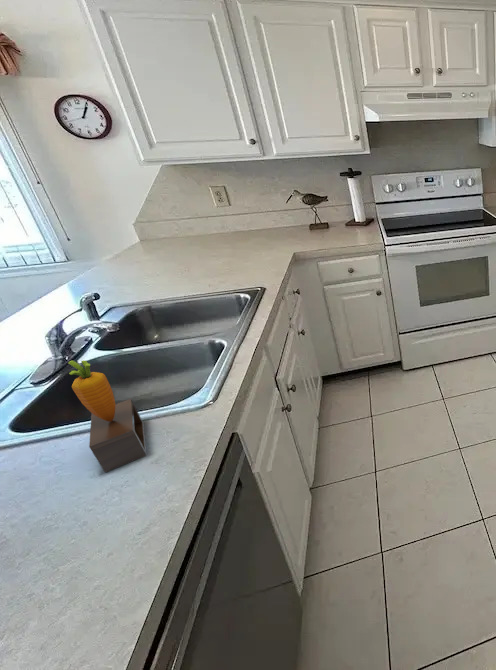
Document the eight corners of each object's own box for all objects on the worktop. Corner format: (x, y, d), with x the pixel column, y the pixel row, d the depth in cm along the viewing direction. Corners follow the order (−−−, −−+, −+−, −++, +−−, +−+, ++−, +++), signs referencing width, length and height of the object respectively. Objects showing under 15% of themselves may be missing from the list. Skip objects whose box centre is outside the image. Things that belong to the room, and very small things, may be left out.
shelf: (146, 455, 86) (133, 430, 83) (105, 472, 82) (89, 446, 79) (143, 422, 94) (131, 398, 91) (105, 436, 91) (91, 412, 88)
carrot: (130, 418, 86) (98, 358, 79) (99, 433, 82) (63, 371, 75) (121, 409, 88) (90, 351, 82) (91, 423, 84) (56, 363, 78)
